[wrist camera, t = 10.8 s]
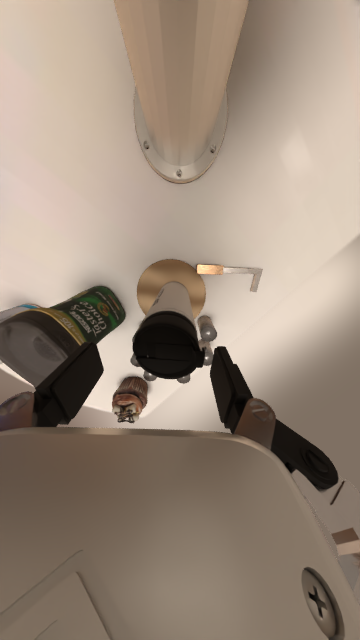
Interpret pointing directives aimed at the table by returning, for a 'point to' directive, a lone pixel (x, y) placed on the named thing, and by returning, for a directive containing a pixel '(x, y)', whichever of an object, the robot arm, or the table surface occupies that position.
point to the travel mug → (169, 335)
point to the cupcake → (130, 399)
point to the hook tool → (220, 269)
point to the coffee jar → (57, 332)
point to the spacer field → (207, 335)
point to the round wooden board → (167, 273)
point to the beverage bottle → (14, 312)
